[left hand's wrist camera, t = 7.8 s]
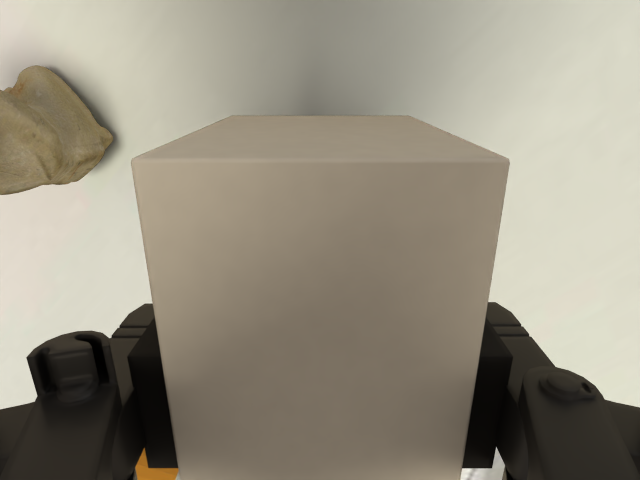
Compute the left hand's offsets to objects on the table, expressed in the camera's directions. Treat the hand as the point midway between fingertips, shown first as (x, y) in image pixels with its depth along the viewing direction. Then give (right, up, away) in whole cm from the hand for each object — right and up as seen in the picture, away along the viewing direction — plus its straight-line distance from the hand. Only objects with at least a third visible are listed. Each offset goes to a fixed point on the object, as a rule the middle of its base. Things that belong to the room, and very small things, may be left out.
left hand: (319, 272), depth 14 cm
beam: (0, -21, +8) cm, 23 cm away
